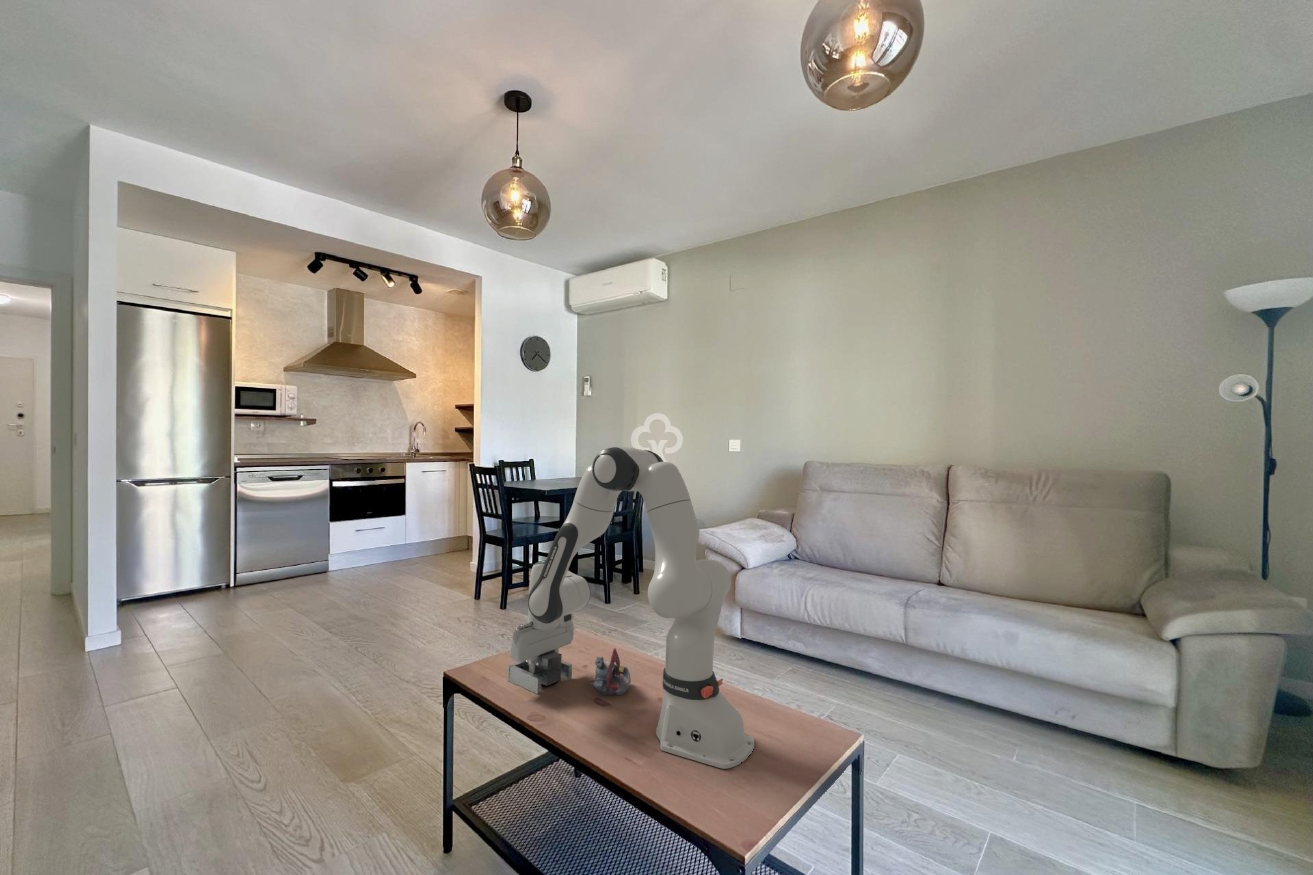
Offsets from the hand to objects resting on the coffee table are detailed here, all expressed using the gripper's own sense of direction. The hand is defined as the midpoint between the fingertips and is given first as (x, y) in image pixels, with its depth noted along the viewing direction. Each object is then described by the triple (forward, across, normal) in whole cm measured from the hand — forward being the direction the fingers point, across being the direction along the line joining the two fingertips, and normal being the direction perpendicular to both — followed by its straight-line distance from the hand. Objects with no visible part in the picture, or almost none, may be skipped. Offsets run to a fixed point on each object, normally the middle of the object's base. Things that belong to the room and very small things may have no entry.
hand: (542, 668), depth 146 cm
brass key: (+4, +17, -11) cm, 21 cm away
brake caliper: (+4, +9, -18) cm, 20 cm away
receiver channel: (+3, 0, 0) cm, 3 cm away
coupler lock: (+3, 0, 0) cm, 3 cm away
